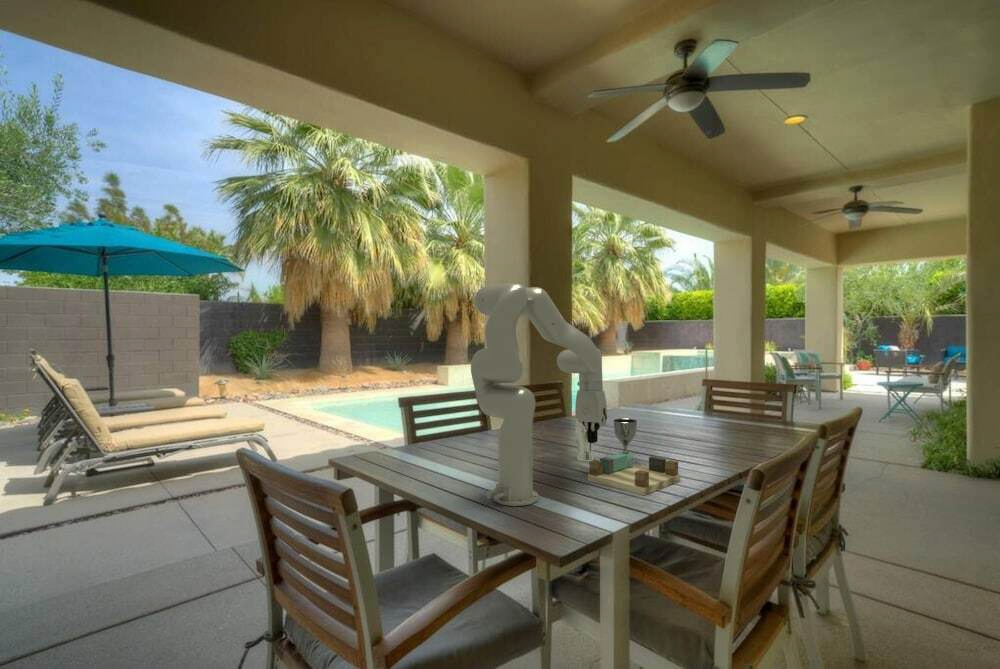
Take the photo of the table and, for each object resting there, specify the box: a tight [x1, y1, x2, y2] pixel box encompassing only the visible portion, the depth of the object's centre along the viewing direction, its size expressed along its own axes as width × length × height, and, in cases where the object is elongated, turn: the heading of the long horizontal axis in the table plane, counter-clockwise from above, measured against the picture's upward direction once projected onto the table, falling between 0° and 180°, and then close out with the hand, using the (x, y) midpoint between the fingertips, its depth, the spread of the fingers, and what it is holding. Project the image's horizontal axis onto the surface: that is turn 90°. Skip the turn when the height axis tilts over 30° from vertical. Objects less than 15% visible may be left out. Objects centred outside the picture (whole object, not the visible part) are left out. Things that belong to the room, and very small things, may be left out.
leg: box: [599, 450, 634, 473], centre depth 164 cm, size 14×4×5 cm, turn 132°
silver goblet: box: [612, 418, 638, 465], centre depth 179 cm, size 8×8×15 cm
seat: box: [587, 456, 681, 496], centre depth 158 cm, size 20×20×6 cm
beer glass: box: [574, 418, 595, 463], centre depth 185 cm, size 7×7×15 cm
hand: (592, 442), depth 167 cm, fingers closed
